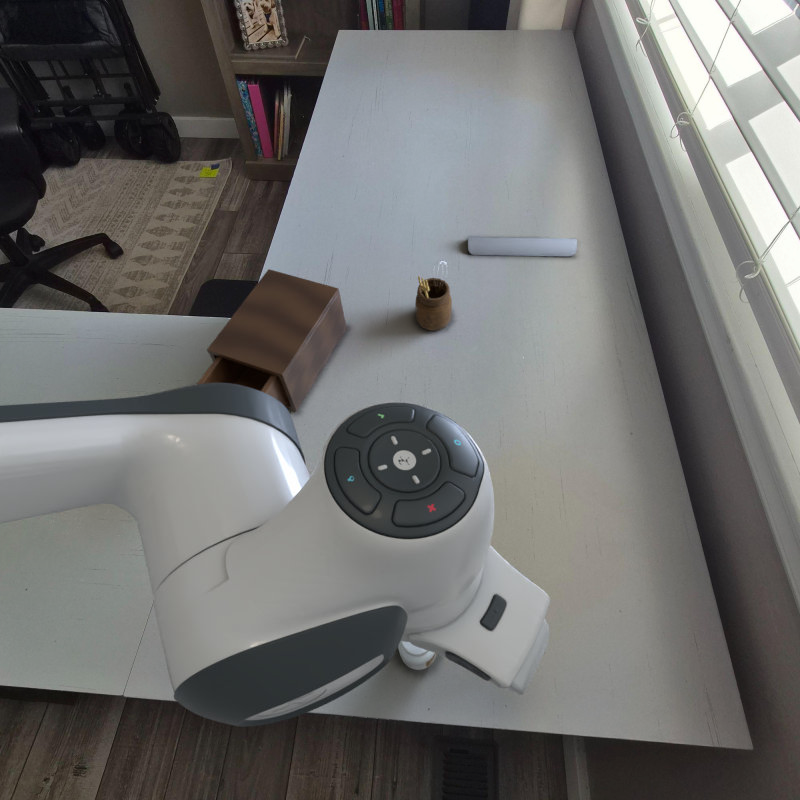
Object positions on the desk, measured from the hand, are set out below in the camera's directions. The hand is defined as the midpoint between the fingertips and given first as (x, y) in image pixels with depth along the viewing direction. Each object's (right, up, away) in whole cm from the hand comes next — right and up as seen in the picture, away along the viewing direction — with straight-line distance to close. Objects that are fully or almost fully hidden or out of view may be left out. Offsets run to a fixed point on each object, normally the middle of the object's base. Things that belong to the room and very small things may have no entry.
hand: (419, 614), depth 48 cm
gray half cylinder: (+21, +47, +53) cm, 73 cm away
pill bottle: (0, -10, +16) cm, 19 cm away
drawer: (-25, +17, +34) cm, 45 cm away
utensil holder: (+4, +32, +44) cm, 55 cm away
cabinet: (-20, +26, +41) cm, 52 cm away
